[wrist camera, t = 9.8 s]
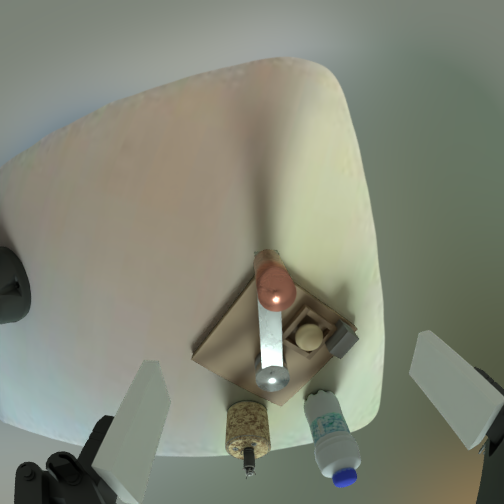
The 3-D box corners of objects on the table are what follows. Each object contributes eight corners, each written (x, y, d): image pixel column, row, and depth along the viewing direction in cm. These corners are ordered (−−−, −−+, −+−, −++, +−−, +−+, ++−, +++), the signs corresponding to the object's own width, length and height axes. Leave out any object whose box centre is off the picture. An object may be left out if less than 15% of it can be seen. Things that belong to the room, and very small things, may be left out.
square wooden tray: (192, 354, 41) (186, 374, 36) (265, 261, 38) (268, 273, 33) (280, 401, 44) (283, 422, 39) (354, 324, 41) (367, 341, 36)
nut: (287, 333, 39) (291, 348, 35) (304, 313, 38) (310, 326, 35) (307, 346, 40) (313, 360, 36) (324, 326, 39) (331, 340, 35)
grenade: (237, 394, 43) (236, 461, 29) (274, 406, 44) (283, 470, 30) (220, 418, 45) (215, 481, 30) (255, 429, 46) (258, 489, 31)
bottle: (293, 402, 44) (313, 492, 25) (320, 380, 43) (353, 469, 24) (317, 415, 45) (341, 497, 26) (343, 394, 44) (379, 475, 25)
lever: (287, 380, 38) (300, 439, 27) (256, 383, 38) (260, 443, 26) (284, 244, 34) (306, 272, 22) (245, 247, 34) (246, 277, 22)
